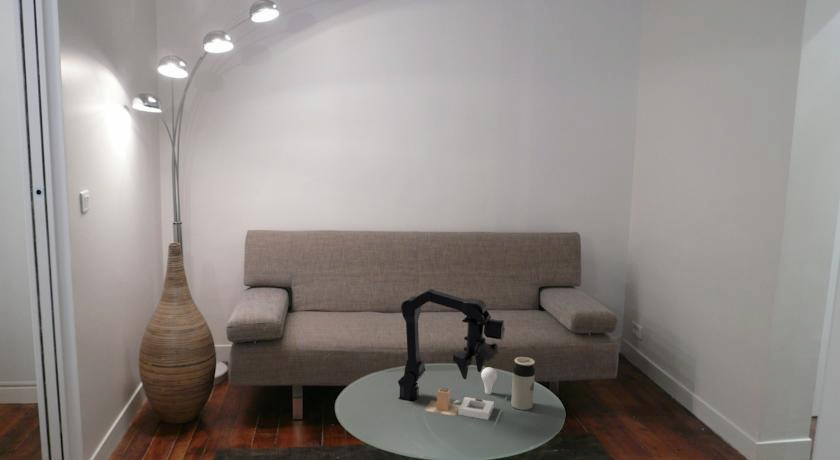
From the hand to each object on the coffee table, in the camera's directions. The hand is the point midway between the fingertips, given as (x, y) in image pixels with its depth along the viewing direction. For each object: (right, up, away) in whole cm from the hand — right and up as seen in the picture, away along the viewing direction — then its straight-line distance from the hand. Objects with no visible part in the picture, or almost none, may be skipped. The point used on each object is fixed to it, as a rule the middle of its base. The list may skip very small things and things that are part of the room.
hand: (472, 375), depth 220 cm
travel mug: (+20, -13, +7) cm, 25 cm away
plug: (-10, -13, +2) cm, 17 cm away
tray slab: (-10, -13, +2) cm, 17 cm away
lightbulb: (+8, -12, +16) cm, 21 cm away
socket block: (+2, -14, +1) cm, 14 cm away
